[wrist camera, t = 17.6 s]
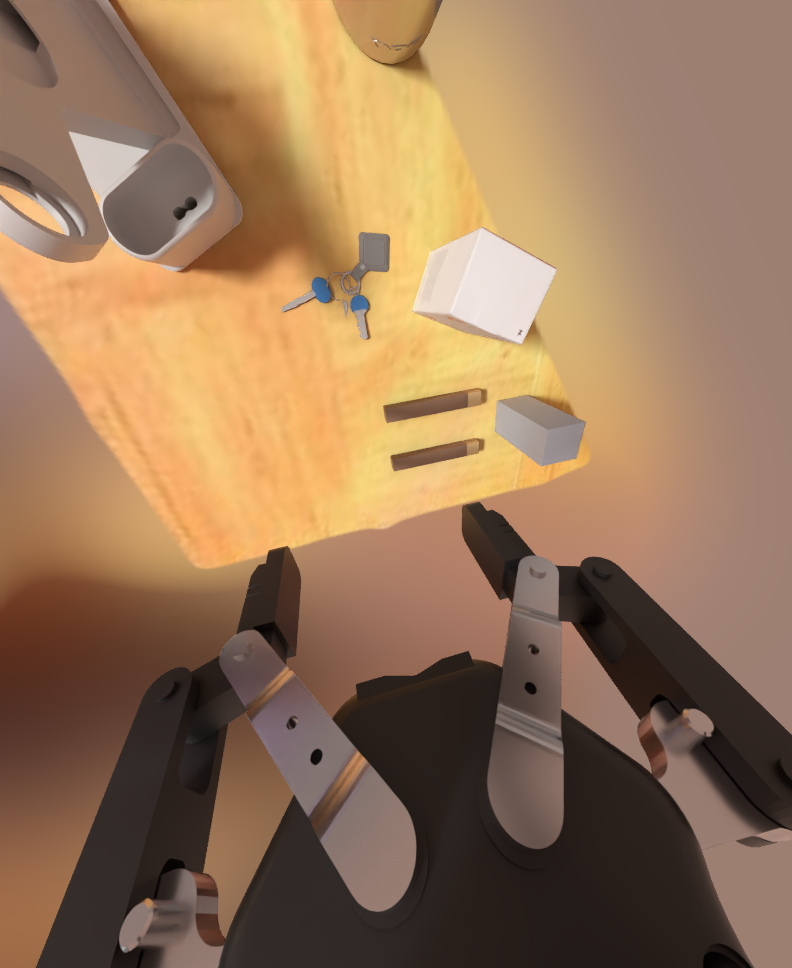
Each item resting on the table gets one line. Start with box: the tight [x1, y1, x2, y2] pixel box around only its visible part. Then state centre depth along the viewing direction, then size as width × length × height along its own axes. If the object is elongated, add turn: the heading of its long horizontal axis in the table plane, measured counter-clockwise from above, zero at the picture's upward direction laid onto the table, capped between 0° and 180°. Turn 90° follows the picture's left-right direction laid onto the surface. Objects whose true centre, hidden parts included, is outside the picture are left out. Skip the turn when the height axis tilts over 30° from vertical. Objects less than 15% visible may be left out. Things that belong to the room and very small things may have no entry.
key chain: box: [281, 232, 389, 339], centre depth 34 cm, size 14×8×1 cm, turn 124°
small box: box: [412, 227, 557, 345], centre depth 30 cm, size 8×6×13 cm
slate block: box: [495, 395, 586, 466], centre depth 41 cm, size 5×5×12 cm
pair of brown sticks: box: [383, 388, 481, 471], centre depth 44 cm, size 10×14×2 cm
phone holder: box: [0, 0, 243, 272], centre depth 17 cm, size 17×10×18 cm, turn 30°
